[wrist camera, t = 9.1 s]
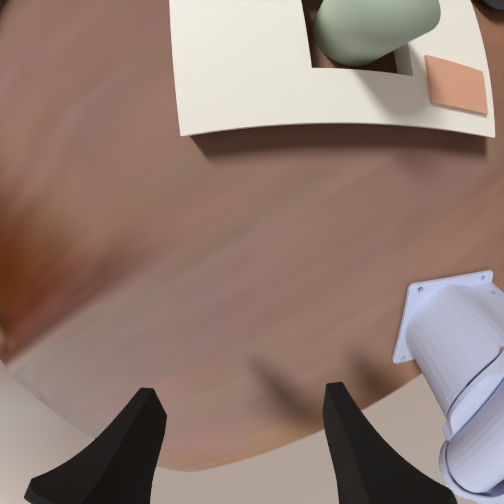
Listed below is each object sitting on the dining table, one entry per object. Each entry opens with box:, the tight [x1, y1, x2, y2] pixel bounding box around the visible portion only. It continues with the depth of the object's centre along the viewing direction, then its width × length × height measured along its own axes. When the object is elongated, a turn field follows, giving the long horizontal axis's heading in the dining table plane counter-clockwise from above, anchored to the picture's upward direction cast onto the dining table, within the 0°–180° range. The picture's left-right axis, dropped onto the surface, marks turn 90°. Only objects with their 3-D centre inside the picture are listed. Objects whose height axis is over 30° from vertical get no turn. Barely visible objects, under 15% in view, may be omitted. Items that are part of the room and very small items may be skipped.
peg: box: [312, 0, 441, 67], centre depth 9 cm, size 4×4×7 cm
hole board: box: [170, 0, 495, 138], centre depth 12 cm, size 20×12×2 cm, turn 96°
